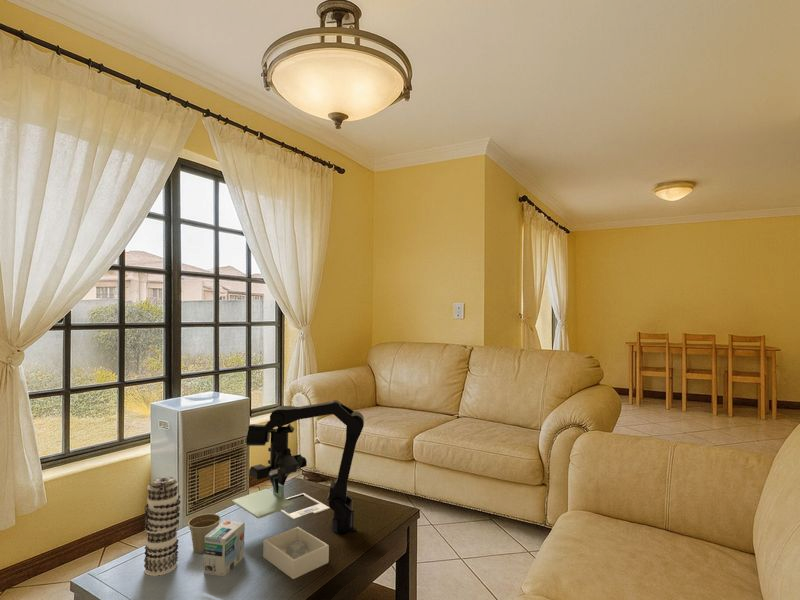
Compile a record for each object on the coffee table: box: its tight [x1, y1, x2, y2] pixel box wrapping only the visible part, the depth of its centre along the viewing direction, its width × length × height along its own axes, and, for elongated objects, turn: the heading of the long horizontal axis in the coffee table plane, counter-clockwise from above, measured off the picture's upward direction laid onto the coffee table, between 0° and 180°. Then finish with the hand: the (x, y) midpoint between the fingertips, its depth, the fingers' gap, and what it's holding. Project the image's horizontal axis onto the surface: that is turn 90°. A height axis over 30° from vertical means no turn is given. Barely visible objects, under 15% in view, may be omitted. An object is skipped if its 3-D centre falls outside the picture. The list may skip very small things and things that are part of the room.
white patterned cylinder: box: [143, 476, 181, 577], centre depth 132 cm, size 9×9×25 cm
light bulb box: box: [203, 519, 246, 577], centre depth 133 cm, size 11×7×11 cm, turn 168°
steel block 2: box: [290, 552, 303, 559], centre depth 133 cm, size 4×4×2 cm
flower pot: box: [187, 513, 222, 554], centre depth 143 cm, size 9×9×9 cm
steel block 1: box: [286, 540, 305, 555], centre depth 140 cm, size 4×4×2 cm
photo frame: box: [279, 492, 331, 520], centre depth 173 cm, size 15×1×18 cm
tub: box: [262, 526, 330, 580], centre depth 136 cm, size 12×16×6 cm
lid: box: [231, 483, 295, 519], centre depth 150 cm, size 13×17×5 cm
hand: (278, 492), depth 154 cm, fingers closed on lid
